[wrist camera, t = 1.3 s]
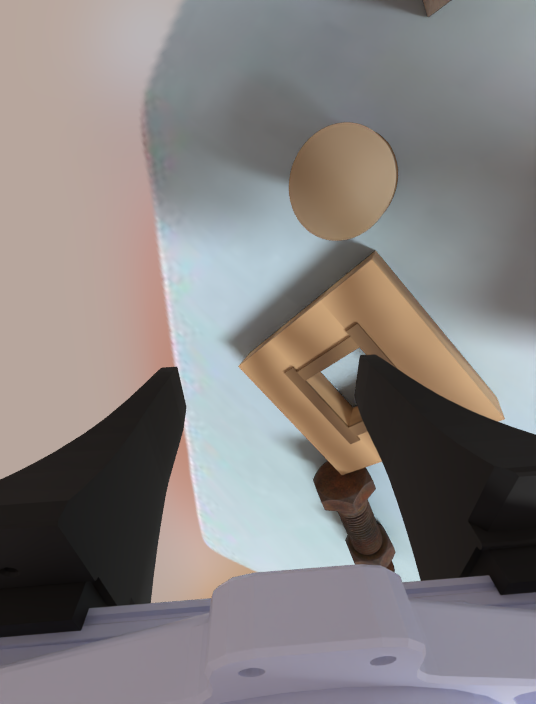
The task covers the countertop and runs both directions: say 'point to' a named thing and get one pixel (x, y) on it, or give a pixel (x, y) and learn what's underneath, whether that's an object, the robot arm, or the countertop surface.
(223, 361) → the countertop surface
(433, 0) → the wooden toy
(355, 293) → the board
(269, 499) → the countertop surface
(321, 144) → the peg
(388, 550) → the bolt
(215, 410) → the countertop surface
